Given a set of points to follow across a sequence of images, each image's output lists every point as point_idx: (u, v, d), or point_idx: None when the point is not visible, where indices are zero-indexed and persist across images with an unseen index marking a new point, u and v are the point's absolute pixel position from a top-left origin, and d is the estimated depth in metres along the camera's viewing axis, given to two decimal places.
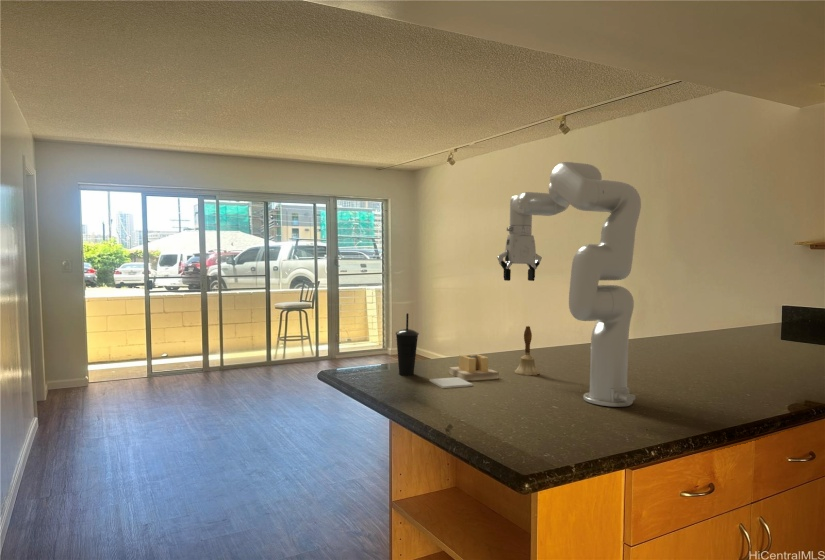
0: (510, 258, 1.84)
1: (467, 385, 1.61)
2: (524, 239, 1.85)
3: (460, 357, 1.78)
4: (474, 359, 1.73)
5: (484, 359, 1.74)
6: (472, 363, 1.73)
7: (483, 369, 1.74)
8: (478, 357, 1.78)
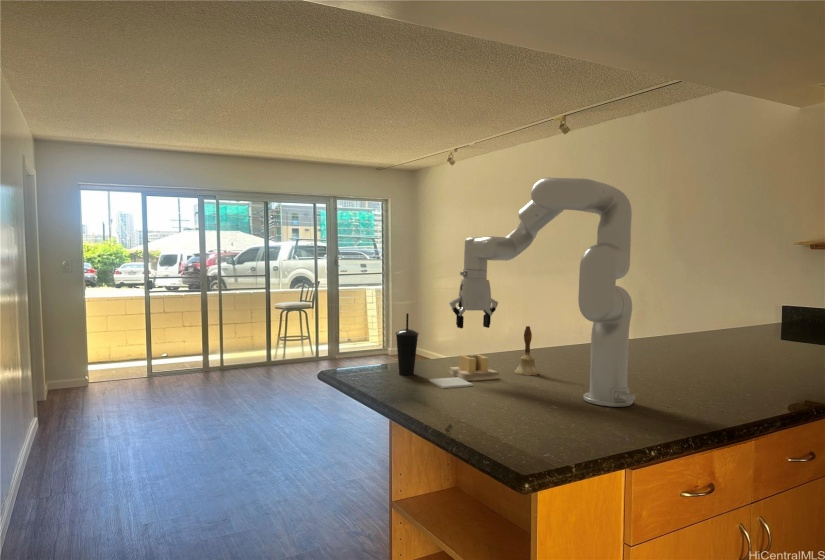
0: (463, 305, 1.73)
1: (467, 385, 1.61)
2: (478, 285, 1.73)
3: (460, 357, 1.78)
4: (474, 359, 1.73)
5: (484, 359, 1.74)
6: (472, 363, 1.73)
7: (483, 369, 1.74)
8: (478, 357, 1.78)
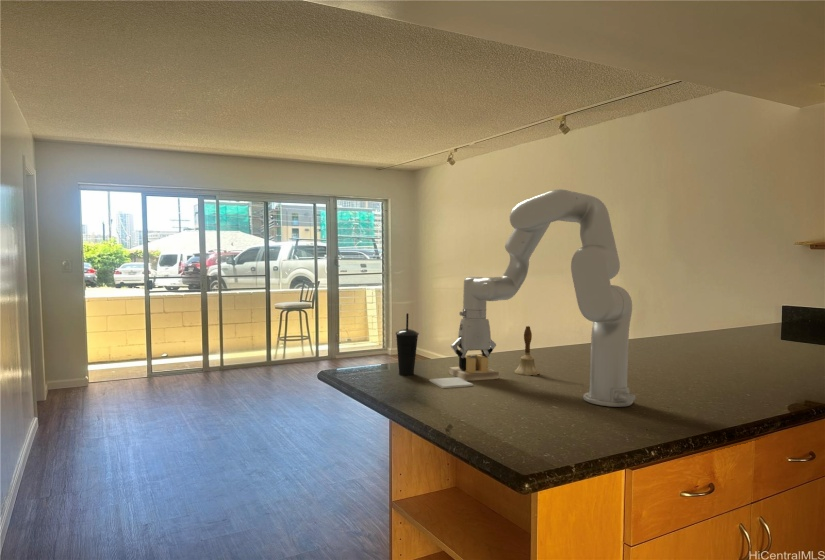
0: (463, 345, 1.73)
1: (467, 385, 1.61)
2: (478, 325, 1.74)
3: None
4: (474, 359, 1.73)
5: (484, 359, 1.74)
6: (472, 363, 1.73)
7: (483, 369, 1.74)
8: (478, 357, 1.78)
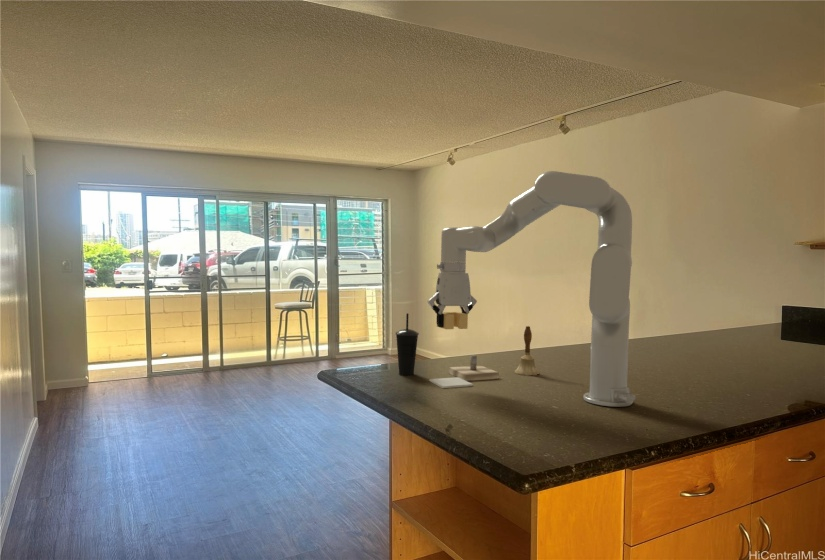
0: (440, 300, 1.60)
1: (467, 385, 1.61)
2: (457, 278, 1.61)
3: None
4: (452, 315, 1.61)
5: (463, 315, 1.62)
6: (450, 319, 1.60)
7: (462, 326, 1.62)
8: (457, 314, 1.66)
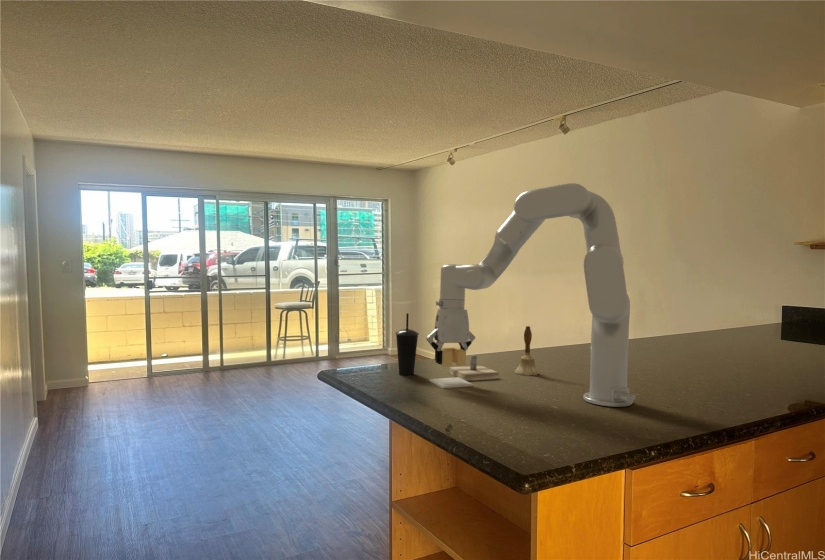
0: (439, 337, 1.61)
1: (467, 385, 1.61)
2: (455, 315, 1.62)
3: None
4: (451, 352, 1.61)
5: (461, 352, 1.62)
6: (448, 356, 1.61)
7: (460, 363, 1.62)
8: (456, 350, 1.66)
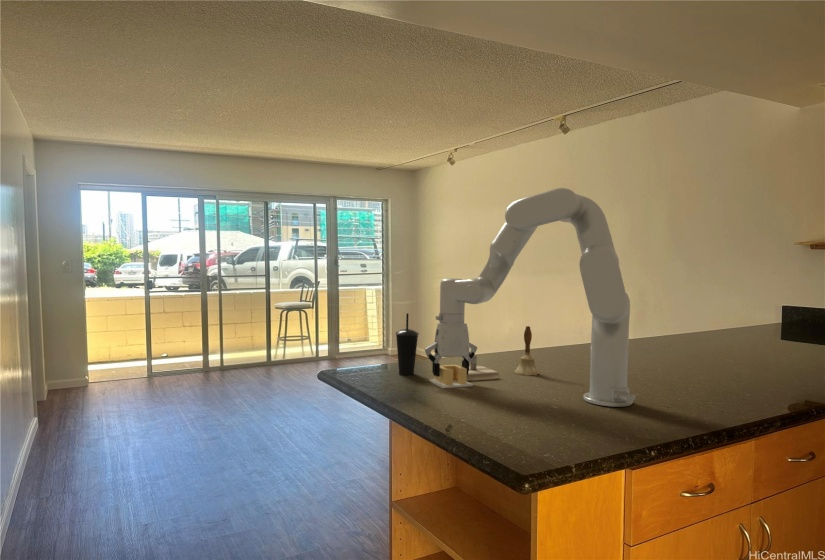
0: (439, 351, 1.61)
1: (467, 385, 1.61)
2: (455, 330, 1.62)
3: None
4: (451, 370, 1.61)
5: (462, 370, 1.62)
6: (449, 375, 1.61)
7: (461, 381, 1.62)
8: (456, 368, 1.66)
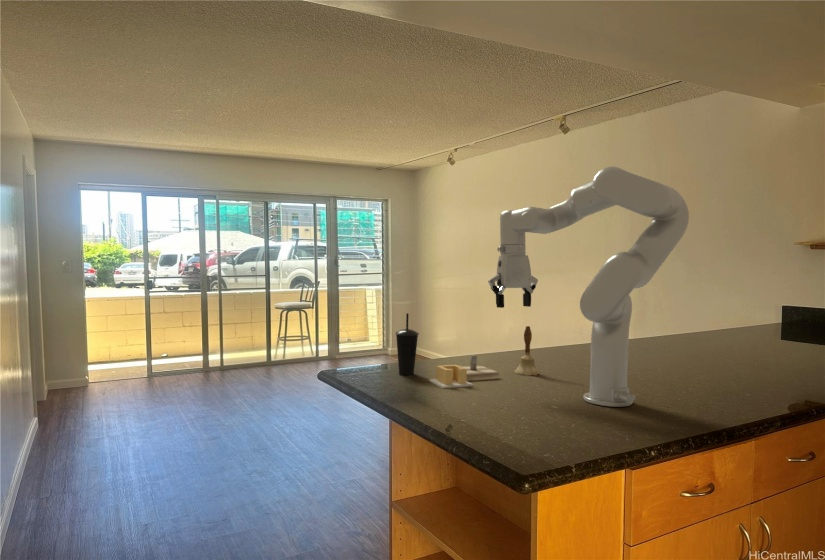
0: (503, 282, 1.61)
1: (467, 385, 1.61)
2: (518, 260, 1.62)
3: (437, 368, 1.66)
4: (451, 370, 1.61)
5: (462, 370, 1.62)
6: (449, 375, 1.61)
7: (461, 381, 1.62)
8: (456, 368, 1.66)
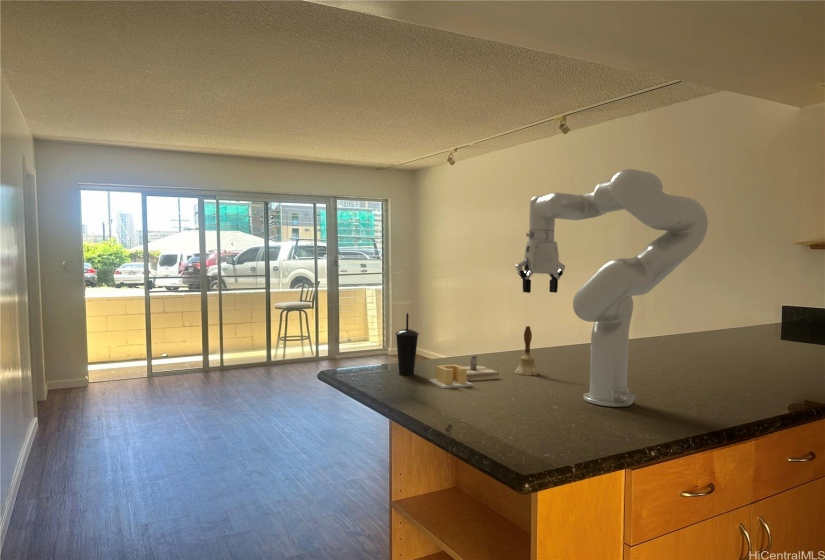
0: (530, 267, 1.62)
1: (467, 385, 1.61)
2: (546, 246, 1.63)
3: (437, 368, 1.66)
4: (451, 370, 1.61)
5: (462, 370, 1.62)
6: (449, 375, 1.61)
7: (461, 381, 1.62)
8: (456, 368, 1.66)
